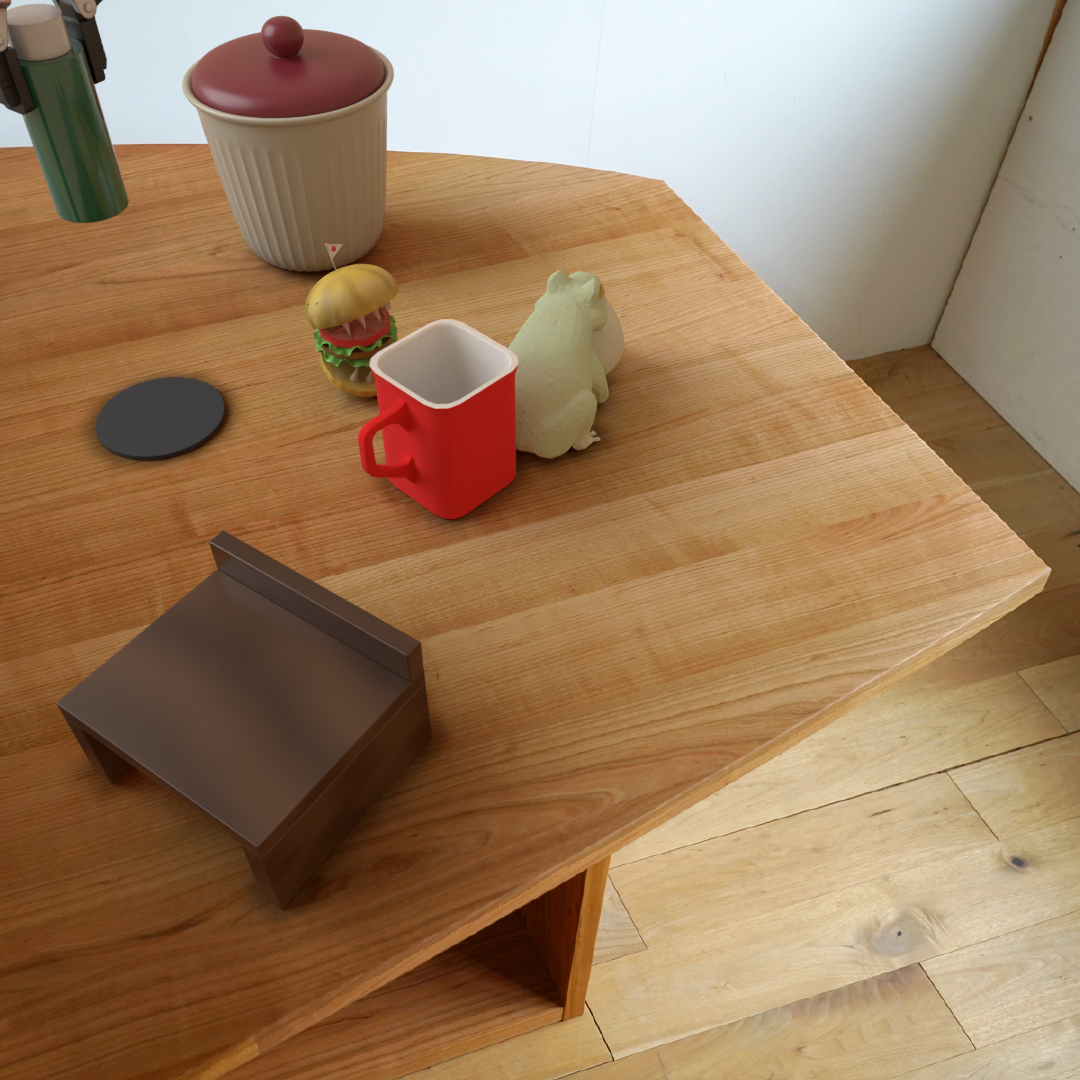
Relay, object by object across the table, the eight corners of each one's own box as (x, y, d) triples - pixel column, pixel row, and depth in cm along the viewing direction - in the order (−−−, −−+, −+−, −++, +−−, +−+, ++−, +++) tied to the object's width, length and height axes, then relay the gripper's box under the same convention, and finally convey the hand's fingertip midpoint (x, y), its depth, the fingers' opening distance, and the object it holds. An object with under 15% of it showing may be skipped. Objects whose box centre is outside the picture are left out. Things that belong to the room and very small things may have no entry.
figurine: (649, 361, 89) (660, 257, 82) (577, 480, 79) (583, 373, 71) (541, 332, 92) (542, 230, 85) (458, 444, 81) (451, 337, 74)
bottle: (88, 230, 66) (22, 35, 58) (41, 210, 68) (-29, 17, 59) (144, 201, 69) (89, 10, 60) (98, 182, 71) (38, -6, 62)
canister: (413, 198, 108) (394, -20, 93) (403, 294, 96) (380, 61, 81) (239, 199, 108) (191, -20, 93) (206, 296, 95) (146, 62, 80)
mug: (454, 425, 83) (446, 313, 75) (529, 474, 79) (529, 360, 71) (336, 501, 77) (315, 386, 69) (411, 557, 73) (397, 443, 65)
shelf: (282, 910, 55) (247, 823, 48) (94, 771, 61) (40, 676, 54) (432, 738, 63) (421, 641, 56) (253, 629, 68) (223, 529, 62)
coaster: (156, 477, 78) (155, 473, 78) (69, 429, 82) (68, 425, 82) (251, 408, 84) (250, 404, 84) (166, 366, 88) (165, 362, 88)
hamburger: (360, 420, 83) (340, 291, 75) (299, 385, 86) (273, 257, 78) (426, 375, 87) (414, 248, 79) (366, 343, 91) (348, 217, 82)
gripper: (17, -281, 57) (108, 43, 69) (-244, -239, 48) (-87, 121, 61) (109, -266, 54) (187, 70, 66) (-152, -218, 45) (-7, 156, 58)
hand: (55, 93), depth 63 cm, fingers closed on bottle, 4 cm apart
